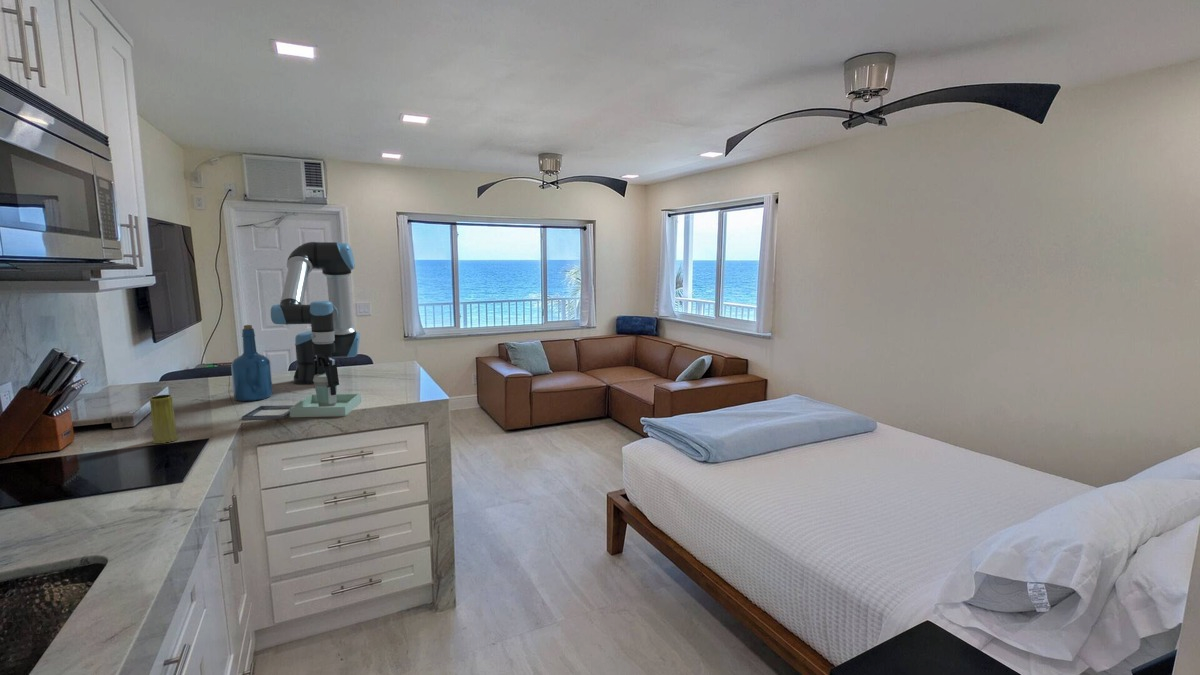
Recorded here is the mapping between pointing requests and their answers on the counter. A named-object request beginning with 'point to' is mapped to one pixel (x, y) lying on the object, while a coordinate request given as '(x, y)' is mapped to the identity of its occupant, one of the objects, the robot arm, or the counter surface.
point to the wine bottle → (251, 371)
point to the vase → (163, 419)
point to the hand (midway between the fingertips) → (327, 401)
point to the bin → (312, 409)
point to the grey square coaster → (249, 415)
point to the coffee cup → (322, 390)
